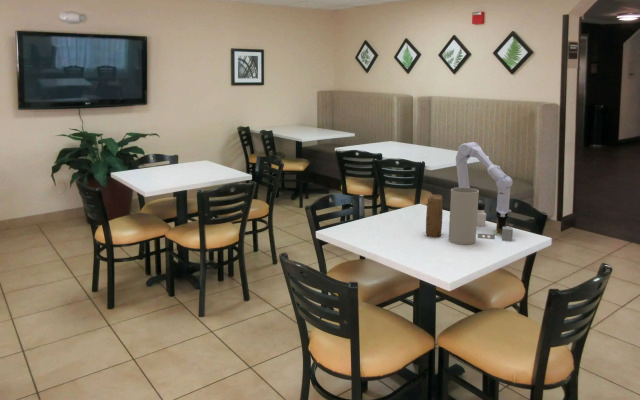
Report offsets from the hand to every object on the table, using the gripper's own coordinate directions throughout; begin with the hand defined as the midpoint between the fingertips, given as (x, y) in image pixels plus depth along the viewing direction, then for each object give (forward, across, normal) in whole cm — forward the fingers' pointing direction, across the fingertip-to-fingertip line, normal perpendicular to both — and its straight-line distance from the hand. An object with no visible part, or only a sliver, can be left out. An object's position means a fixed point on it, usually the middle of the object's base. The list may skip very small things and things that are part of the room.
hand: (501, 227), depth 268 cm
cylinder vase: (+3, -19, +18) cm, 26 cm away
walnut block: (+2, 0, 0) cm, 2 cm away
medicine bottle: (+3, +14, +12) cm, 19 cm away
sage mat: (+3, 0, 0) cm, 3 cm away
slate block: (+3, -10, -2) cm, 11 cm away
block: (+3, -11, +32) cm, 34 cm away
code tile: (+3, -8, +7) cm, 11 cm away
